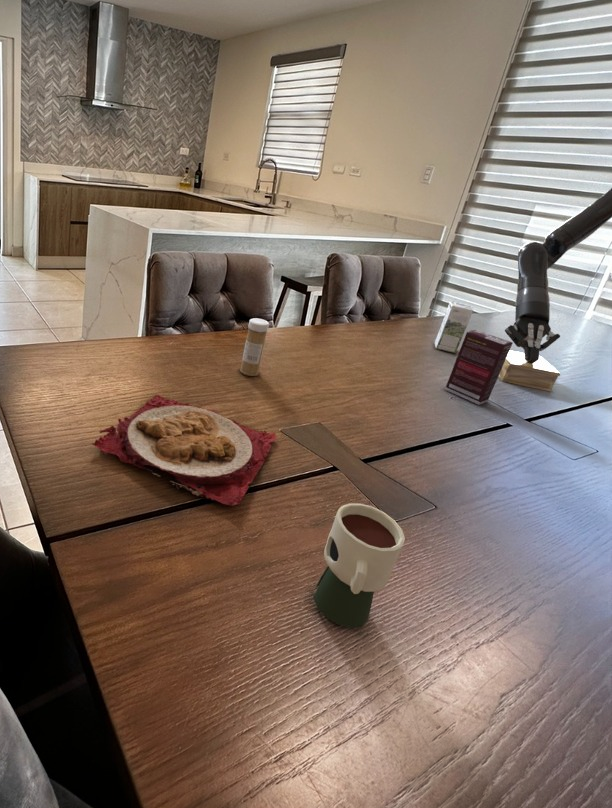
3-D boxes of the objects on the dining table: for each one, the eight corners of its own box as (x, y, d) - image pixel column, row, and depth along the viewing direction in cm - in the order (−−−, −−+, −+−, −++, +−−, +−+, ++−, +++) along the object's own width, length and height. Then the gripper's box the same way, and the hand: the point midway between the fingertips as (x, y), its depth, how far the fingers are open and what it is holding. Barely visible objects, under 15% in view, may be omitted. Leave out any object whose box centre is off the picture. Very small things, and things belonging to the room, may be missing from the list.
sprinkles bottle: (260, 372, 115) (272, 321, 110) (254, 378, 111) (265, 326, 106) (243, 366, 117) (253, 316, 112) (236, 372, 113) (246, 320, 108)
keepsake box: (550, 391, 125) (558, 375, 123) (502, 381, 128) (509, 365, 126) (533, 374, 135) (540, 359, 134) (488, 364, 138) (494, 350, 136)
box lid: (559, 376, 123) (560, 373, 122) (509, 366, 125) (511, 363, 125) (540, 358, 134) (541, 356, 133) (494, 349, 136) (495, 347, 136)
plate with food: (235, 516, 69) (240, 498, 67) (90, 450, 78) (92, 432, 77) (275, 441, 89) (279, 426, 87) (156, 395, 98) (158, 381, 97)
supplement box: (488, 401, 115) (514, 342, 108) (479, 406, 112) (505, 345, 106) (452, 386, 121) (475, 328, 115) (443, 389, 118) (466, 331, 112)
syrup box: (453, 348, 148) (470, 304, 143) (456, 354, 143) (473, 309, 138) (433, 343, 150) (449, 300, 145) (435, 349, 145) (452, 304, 140)
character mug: (315, 562, 62) (341, 484, 57) (372, 587, 60) (404, 507, 55) (301, 631, 53) (330, 545, 48) (367, 663, 50) (406, 575, 45)
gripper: (550, 317, 134) (550, 372, 128) (499, 308, 138) (496, 361, 131) (567, 305, 128) (568, 362, 121) (513, 295, 131) (511, 350, 125)
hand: (531, 361), depth 126 cm, fingers closed
